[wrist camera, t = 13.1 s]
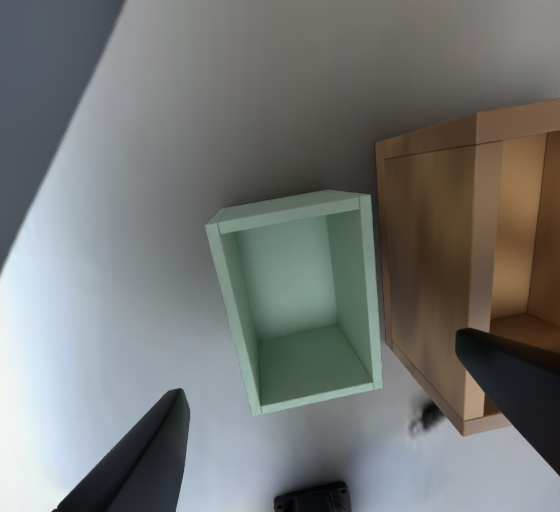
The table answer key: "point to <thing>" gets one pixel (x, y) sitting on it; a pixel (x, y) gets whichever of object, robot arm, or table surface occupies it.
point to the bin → (300, 296)
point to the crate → (470, 245)
